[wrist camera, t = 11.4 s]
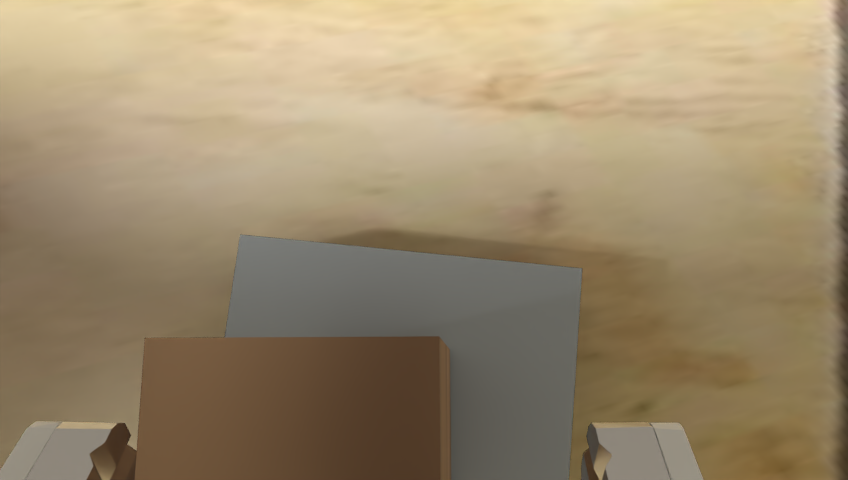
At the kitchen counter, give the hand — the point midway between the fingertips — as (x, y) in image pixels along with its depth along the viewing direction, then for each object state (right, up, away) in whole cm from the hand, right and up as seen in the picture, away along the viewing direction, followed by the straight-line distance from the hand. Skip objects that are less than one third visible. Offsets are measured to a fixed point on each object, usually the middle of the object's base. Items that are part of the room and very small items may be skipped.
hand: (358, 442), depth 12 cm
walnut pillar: (0, -2, +7) cm, 7 cm away
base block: (0, -2, +11) cm, 11 cm away
